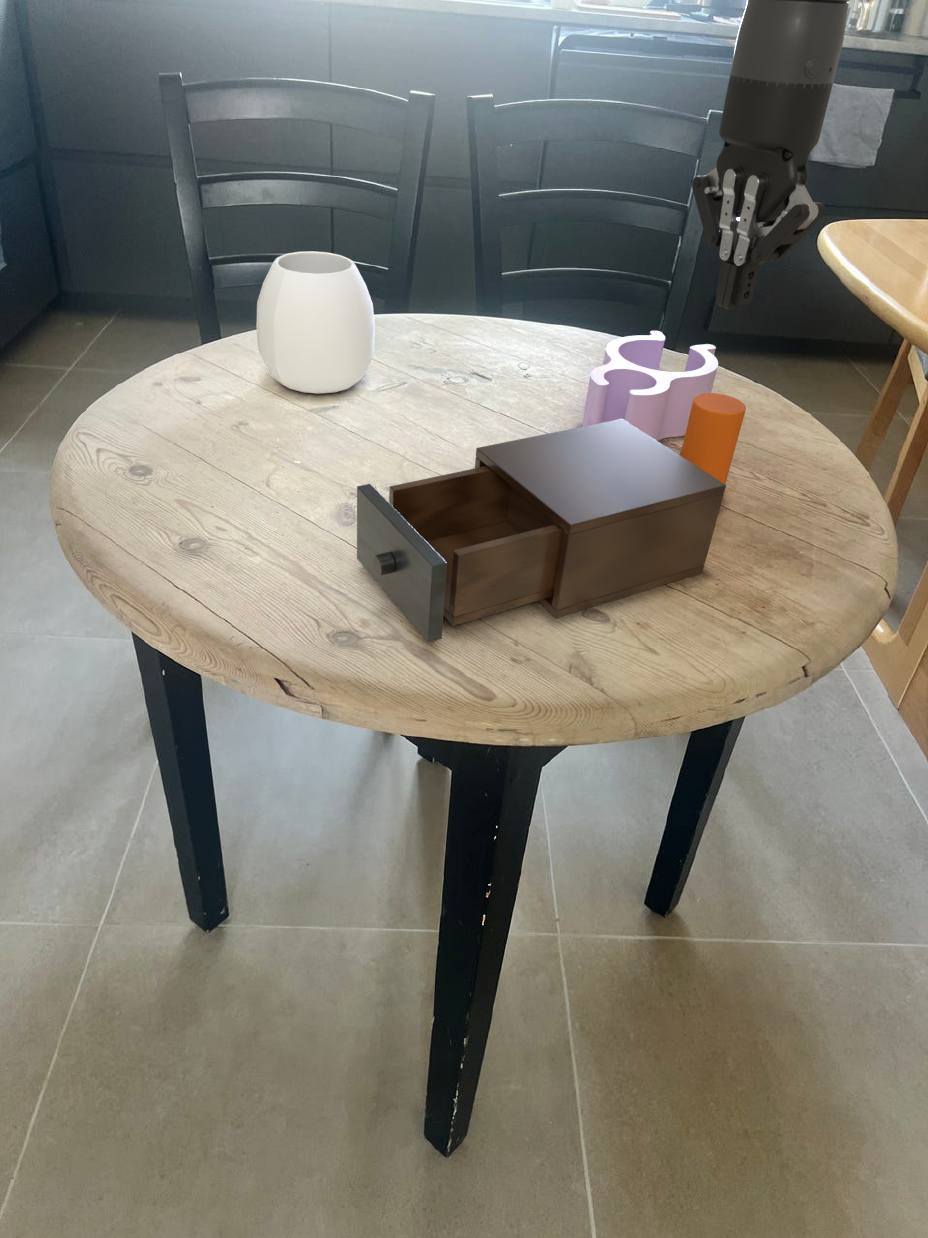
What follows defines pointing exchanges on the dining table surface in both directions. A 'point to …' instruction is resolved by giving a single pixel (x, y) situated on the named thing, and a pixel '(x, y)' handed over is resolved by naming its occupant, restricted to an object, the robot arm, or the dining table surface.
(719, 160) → the robot arm
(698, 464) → the roller
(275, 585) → the dining table surface
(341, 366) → the white vase
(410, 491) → the drawer
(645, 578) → the cabinet
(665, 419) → the clip
